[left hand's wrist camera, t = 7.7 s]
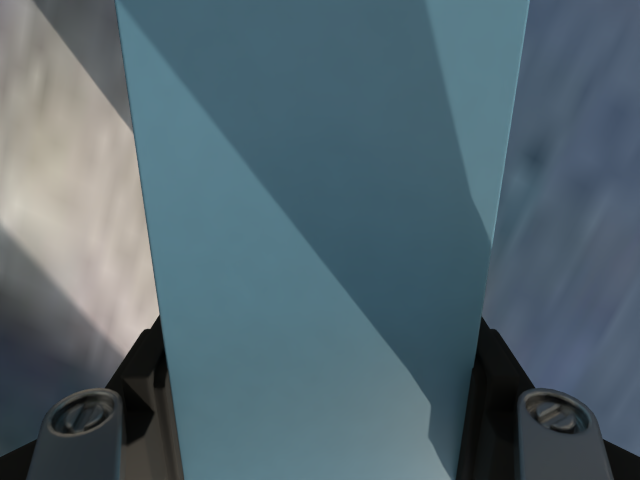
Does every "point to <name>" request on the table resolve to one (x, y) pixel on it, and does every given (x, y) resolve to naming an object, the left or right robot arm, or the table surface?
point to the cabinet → (321, 223)
